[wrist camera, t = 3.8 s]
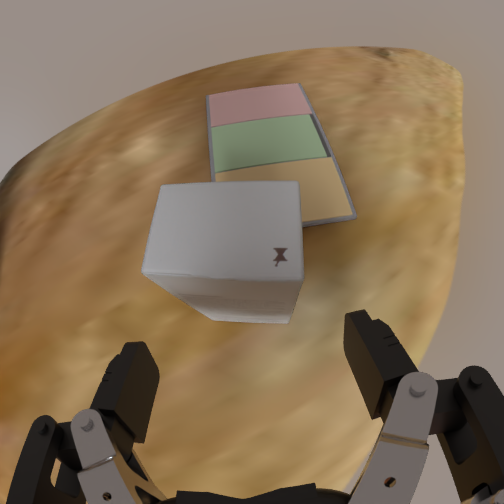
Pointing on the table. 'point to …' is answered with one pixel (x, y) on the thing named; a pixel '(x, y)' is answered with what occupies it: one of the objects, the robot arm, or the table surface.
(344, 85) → the table surface
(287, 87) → the multicoloured flat board
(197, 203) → the skincare box
